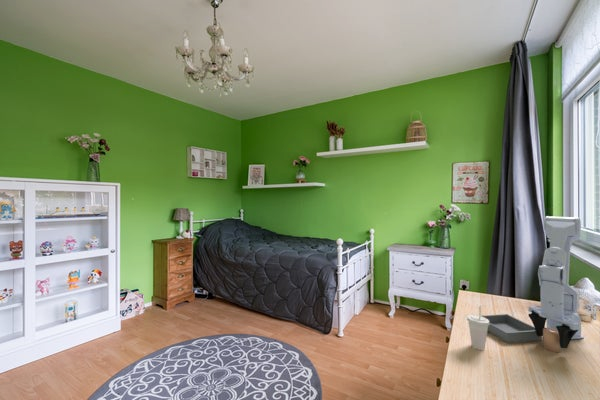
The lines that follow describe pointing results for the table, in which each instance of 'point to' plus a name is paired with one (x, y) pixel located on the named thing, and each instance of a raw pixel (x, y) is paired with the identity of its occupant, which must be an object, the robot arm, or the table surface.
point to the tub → (511, 329)
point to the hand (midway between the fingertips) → (551, 341)
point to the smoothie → (478, 330)
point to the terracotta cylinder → (551, 340)
